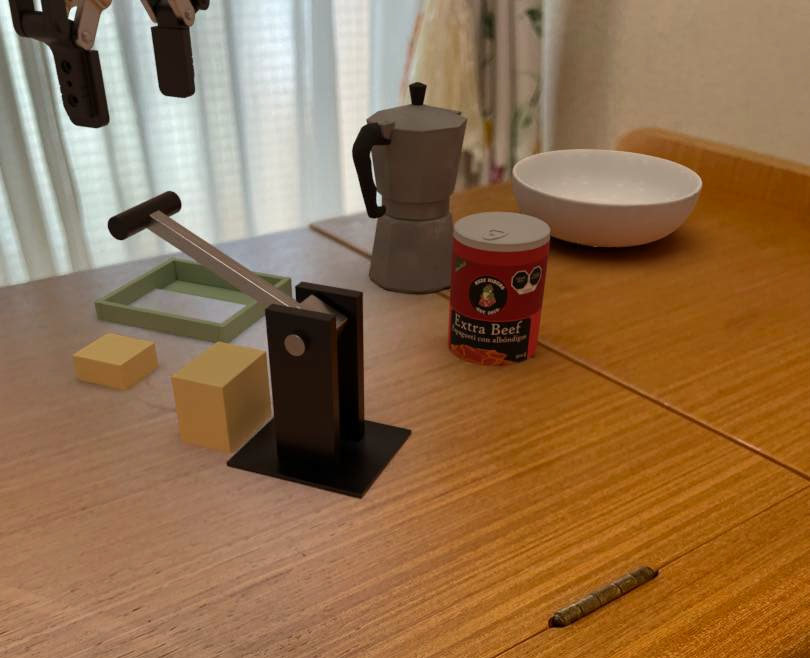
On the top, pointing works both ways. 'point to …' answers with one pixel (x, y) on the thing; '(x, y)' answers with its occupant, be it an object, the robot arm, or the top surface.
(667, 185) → the serving bowl
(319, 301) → the lever
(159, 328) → the dish
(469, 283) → the canned food
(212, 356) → the butter
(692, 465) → the top surface
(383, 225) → the coffeepot
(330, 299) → the lever stand
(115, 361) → the butter pat
